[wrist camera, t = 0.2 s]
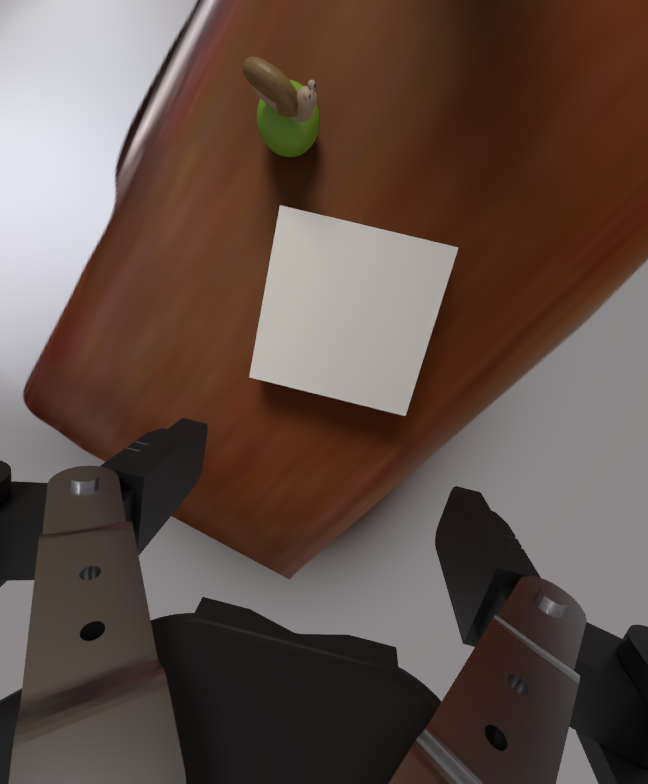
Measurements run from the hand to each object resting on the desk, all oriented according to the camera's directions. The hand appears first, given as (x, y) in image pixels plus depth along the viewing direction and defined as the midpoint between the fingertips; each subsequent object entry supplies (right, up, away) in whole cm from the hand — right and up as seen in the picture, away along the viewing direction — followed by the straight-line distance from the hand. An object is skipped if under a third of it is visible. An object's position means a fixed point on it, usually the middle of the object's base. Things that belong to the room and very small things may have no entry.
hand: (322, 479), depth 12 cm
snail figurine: (-2, +27, +23) cm, 36 cm away
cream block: (+3, +11, +28) cm, 30 cm away
